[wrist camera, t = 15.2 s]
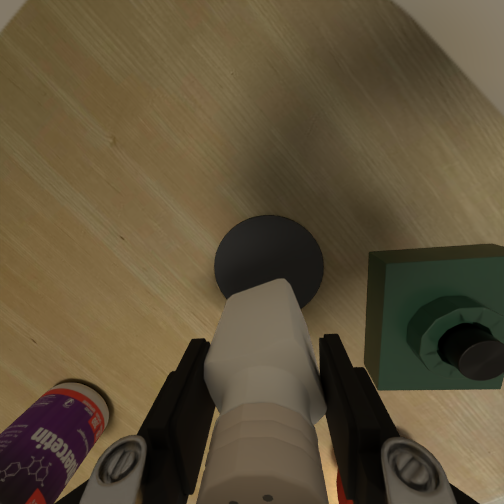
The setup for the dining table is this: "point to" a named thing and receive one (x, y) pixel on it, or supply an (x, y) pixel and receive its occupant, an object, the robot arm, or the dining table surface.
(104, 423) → the pill bottle
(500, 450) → the dining table surface
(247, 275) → the coaster
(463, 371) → the black push button
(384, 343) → the green square nut
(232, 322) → the salt shaker
